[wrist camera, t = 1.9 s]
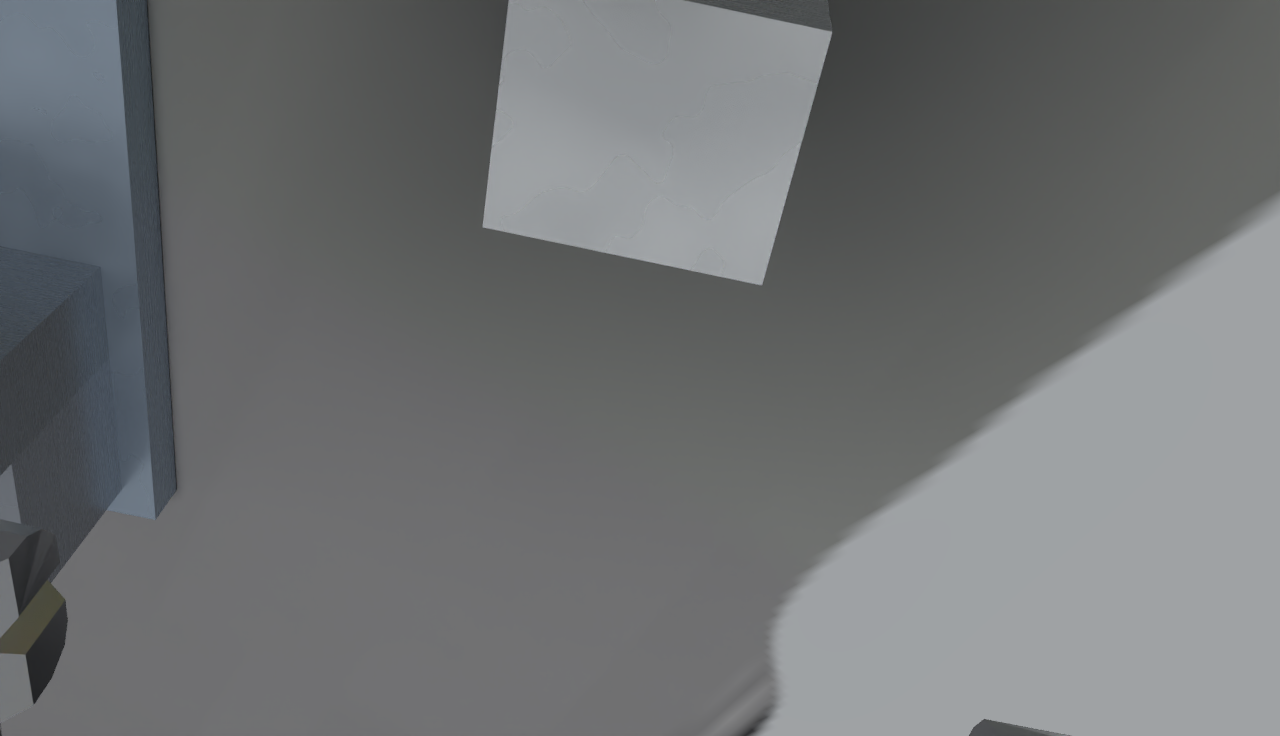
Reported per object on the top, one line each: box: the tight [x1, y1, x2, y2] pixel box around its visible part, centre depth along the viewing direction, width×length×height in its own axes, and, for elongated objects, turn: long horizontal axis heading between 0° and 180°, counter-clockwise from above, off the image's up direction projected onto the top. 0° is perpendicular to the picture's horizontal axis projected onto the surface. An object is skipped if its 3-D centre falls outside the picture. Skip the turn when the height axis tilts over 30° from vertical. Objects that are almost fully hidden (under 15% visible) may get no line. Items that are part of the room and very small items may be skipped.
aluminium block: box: [483, 0, 832, 285], centre depth 24 cm, size 5×6×8 cm
